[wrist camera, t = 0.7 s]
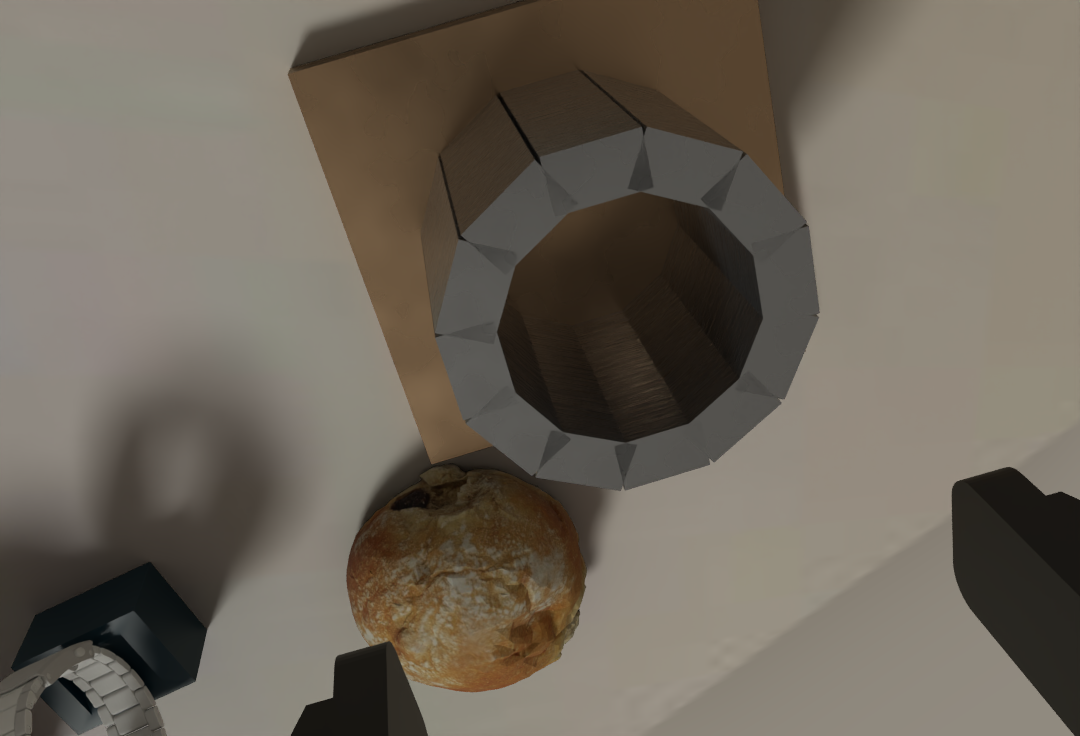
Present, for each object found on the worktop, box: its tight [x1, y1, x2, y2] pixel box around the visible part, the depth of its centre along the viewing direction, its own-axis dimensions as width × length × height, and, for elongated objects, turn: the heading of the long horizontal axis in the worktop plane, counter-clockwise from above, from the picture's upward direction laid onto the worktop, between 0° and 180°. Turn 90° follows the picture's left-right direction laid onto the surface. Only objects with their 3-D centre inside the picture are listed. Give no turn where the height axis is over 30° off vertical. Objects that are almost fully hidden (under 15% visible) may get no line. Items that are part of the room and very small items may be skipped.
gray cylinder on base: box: [288, 0, 820, 491], centre depth 32 cm, size 16×16×10 cm
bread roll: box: [347, 464, 587, 692], centre depth 41 cm, size 10×10×8 cm
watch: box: [0, 562, 207, 736], centre depth 37 cm, size 6×8×11 cm
